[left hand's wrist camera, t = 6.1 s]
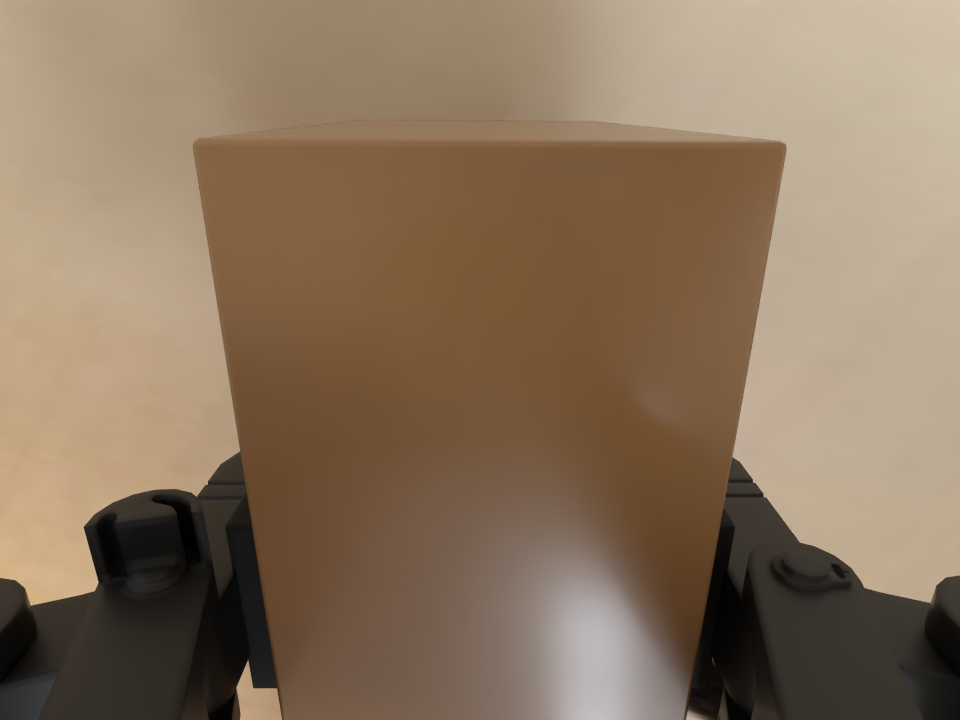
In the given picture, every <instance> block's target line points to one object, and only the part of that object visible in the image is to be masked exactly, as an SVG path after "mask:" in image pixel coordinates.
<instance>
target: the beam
mask: <svg viewBox="0 0 960 720" xmlns="http://www.w3.org/2000/svg"><path fill="white" fill-rule="evenodd" d="M193 150H194V157H195V163H196V169H197V176H198V182H199V189H200V195H201V201H202V208H203V214H204V221H205V227H206V234H207V240H208V246H209V253H210V259H211V266H212V272H213V278H214V285H215V291H216V298H217V304H218V311H219V317H220V323H221V330H222V336H223V343H224V349H225V355H226V362H227V368H228V375H229V381H230V388H231V394H232V400H233V407H234V413H235V420H236V426H237V433H238V439H239V445H240V452H241V458H242V465H243V471H244V477H245V484H246V490H247V497H248V503H249V510H250V516H251V522H252V529H253V535H254V542H255V548H256V554H257V561H258V567H259V574H260V580H261V587H262V593H263V599H264V606H265V612H266V619H267V625H268V632H269V638H270V644H271V651H272V657H273V664H274V670H275V676H276V683H277V689H278V696H279V702H280V709H281V715H282V720H686V717H687V711H688V705H689V700H690V694H691V688H692V682H693V677H694V671H695V665H696V660H697V654H698V648H699V643H700V637H701V631H702V626H703V620H704V614H705V609H706V603H707V597H708V592H709V586H710V580H711V575H712V569H713V563H714V558H715V552H716V546H717V541H718V535H719V529H720V524H721V518H722V512H723V507H724V501H725V495H726V490H727V484H728V478H729V473H730V467H731V461H732V456H733V450H734V444H735V439H736V433H737V427H738V422H739V416H740V410H741V405H742V399H743V393H744V388H745V382H746V376H747V371H748V365H749V359H750V354H751V348H752V342H753V337H754V331H755V325H756V320H757V314H758V308H759V302H760V297H761V291H762V285H763V280H764V274H765V268H766V263H767V257H768V251H769V246H770V240H771V234H772V229H773V223H774V217H775V212H776V206H777V200H778V195H779V189H780V183H781V178H782V172H783V166H784V161H785V155H786V144H785V143H783V142H781V141H774V140H765V139H755V138H746V137H737V136H728V135H718V134H709V133H700V132H690V131H681V130H672V129H662V128H653V127H644V126H635V125H625V124H616V123H607V122H597V121H459V120H358V121H350V122H341V123H332V124H323V125H314V126H305V127H297V128H288V129H279V130H270V131H261V132H252V133H244V134H235V135H226V136H217V137H208V138H200V139H197V140H195V141H194V144H193Z"/></svg>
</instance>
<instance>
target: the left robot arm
mask: <svg viewBox="0 0 960 720" xmlns="http://www.w3.org/2000/svg"><path fill="white" fill-rule="evenodd" d="M84 530H85V533H86V537H87V541H88V544H89V548H90V552H91V555H92V559H93V563H94V566H95V570H96V574H97V577H98V581H99V583H98V586H97V588H96V590H95V591H94V592H90V593H87V594H83V595H79V596H74V597H70V598H65V599H60V600H56V601H51V602H46V603H42V604H37V605H32V606H31V605H30V602H29V599H28V596H27V593H26V590H25V588H24V587H23V586H21V585H20V584H19V583H18V582H17V581H15V580H9V579H3V578H0V720H240V707H239V700H238V695H237V689H236V687H237V685H238V682H239V680H240V677H241V675H242V673H243V670H244V668H245V666H246V663H247V661H248V660H249V666H250V671H251V677H252V683H253V688H277V683H276V676H275V670H274V664H273V657H272V651H271V644H270V638H269V632H268V625H267V619H266V612H265V606H264V599H263V593H262V587H261V580H260V574H259V567H258V561H257V554H256V548H255V542H254V535H253V529H252V522H251V516H250V510H249V503H248V497H247V490H246V484H245V477H244V471H243V465H242V458H241V452H239V453H237V454H236V455H234V456H233V457H231V458H230V459H228V460H227V461H225V462H224V463H222V464H221V465H220V466H219V468H218V469H217V470H216V472H215V473H214V474H213V476H212V477H211V478H210V480H209V481H208V485H205V486H204V488H203V489H202V491H201V492H200V493H199V495H198V496H197V497H196V496H195V495H194V494H192V493H190V492H186V491H181V490H177V489H166V490H153V491H148V492H143V493H139V494H134V495H131V496H129V497H126V498H124V499H121V500H119V501H116V502H114V503H112V504H110V505H109V506H107V507H106V508H104V509H102V510H101V511H99V512H98V513H96V514H95V515H94V516H93V517H92V518H91V519H90V520H89V522H88V523H87V524H86V525H85V526H84ZM712 657H713V659H714V662H715V664H716V666H717V669H718V671H719V673H720V676H721V678H722V680H723V683H724V689H723V695H722V700H721V705H720V710H719V716H718V720H960V576H954V577H947V578H945V579H944V580H943V581H941V582H940V583H939V584H938V585H937V586H936V589H935V592H934V595H933V598H932V601H931V603H927V602H922V601H918V600H913V599H908V598H904V597H899V596H894V595H889V594H885V593H880V592H876V591H873V590H869V589H866V588H864V587H863V584H862V582H861V581H860V579H859V578H858V577H857V575H856V574H855V573H854V571H853V570H852V569H851V568H850V567H849V566H848V565H846V564H845V563H844V562H842V561H841V560H840V559H838V558H837V557H836V556H834V555H832V554H830V553H828V552H825V551H823V550H821V549H819V548H817V547H815V546H811V545H807V544H803V543H800V542H799V541H798V540H797V538H796V537H795V536H794V534H793V533H792V532H791V530H790V529H789V527H788V526H787V525H786V523H785V522H784V521H783V519H782V518H781V517H780V515H779V514H778V513H777V511H776V510H775V509H774V507H773V506H772V505H771V503H770V502H769V501H768V499H767V498H764V496H763V493H762V491H761V490H760V489H759V487H758V486H757V485H756V483H753V479H752V478H751V477H750V475H749V474H748V473H747V471H746V470H745V468H744V467H743V466H742V464H741V463H740V462H739V461H737V460H736V459H734V458H733V457H732V461H731V467H730V473H729V478H728V484H727V490H726V495H725V501H724V507H723V512H722V518H721V524H720V529H719V535H718V541H717V546H716V552H715V558H714V563H713V569H712V575H711V580H710V586H709V592H708V597H707V603H706V609H705V614H704V620H703V626H702V631H701V637H700V643H699V648H698V654H697V660H696V665H695V671H694V677H693V682H692V688H707V685H708V679H709V674H710V668H711V662H712Z"/></svg>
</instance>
